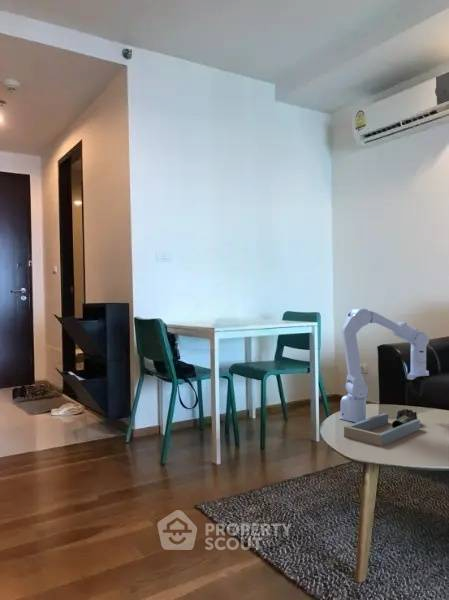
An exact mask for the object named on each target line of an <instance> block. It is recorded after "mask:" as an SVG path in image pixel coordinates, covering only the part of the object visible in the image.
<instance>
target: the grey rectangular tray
mask: <svg viewBox="0 0 449 600" xmlns="http://www.w3.org/2000/svg"><path fill="white" fill-rule="evenodd" d="M367 418H368V419H365V420H362V421H359V422H353V423H350V424H348V425H345V426H344V427H343V437H344V438H347V439H352V440H355V441H359V442H363V443H367V444H370V445H375V446H378V447H382V446H385V445H387V444H389V443H392V442H394V441H397V440H399V439H401V438H403V437H406V436H408V435H410V434H412V433H415V432H417V431H420V430H421V420H420V419H418V418H417V419H415V420H413V421H410V422H408V423H405V424H402V425H400V426H397V427H395V428H392V427H391V428H390V429H388V430H385V431H382V432H379V433H378V432H374V431H370V430H372V429H375V428H378V427H380V426H383V425H386V424H388V423H389V413H387V412H383V413H380V414H378V415H375V416H372V417H367ZM369 429H370V430H369Z"/></svg>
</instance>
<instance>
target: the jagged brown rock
mask: <svg viewBox="0 0 449 600" xmlns="http://www.w3.org/2000/svg"><path fill="white" fill-rule="evenodd" d="M396 413H397V414H396V420H394V421H392V423H391V429H392V428H395V427H397V426H400V425H402V424H405V423H408V422H410V421H413V420H415V419H417V420H418V416H417V415H418V413H417V412H416V411H413V410H412V409H408V408H405V409H399V410H398V411H397V412H396Z"/></svg>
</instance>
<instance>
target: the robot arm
mask: <svg viewBox="0 0 449 600" xmlns="http://www.w3.org/2000/svg"><path fill="white" fill-rule="evenodd" d="M369 324H377V325H379V326H382V327H384V328H386V329H389V330H391V331H392V333H393V335H394V336H396V337H397V338H400V339H402V340H403V341H406V342H408V343H409V344H410V372H409V373H408V374H407V378H406V379H407V380H409V382H410V383H411V385H412V388H413V389H412V390H413V393H414V396H416V397H421V396H422V395H423V391H424V389H425V385H426V383H427V381H428V376H430V372H429V370H427V345H429V342H430V339H429V336H428V335H427V333H426V332H423V331H418V328H416V327H412V326H410V325H408V322H405V321H403V322H402V321H401V322H394V321H392V320H391V319H389V318H388V317H385V316H383V315H381V314H379V313H378V312H375V311H373V310H368V309H367V308H358V307H357V308H356V307H355V308H352V309H351V310H350V311H349V312H348V313H347V314H346V319H345V321H344V324H343V326H342V328H341V332H342V333H341V334H342V339H343V347H344V354H345V362H346V368H347V374H346V383H345V390H346V392H347V395H344V396H342V397H341V399H340V402H339V403H340V404H339V405H340V411H339V413H340V416H339V419H340V420H344V421H349V422H353V423H356V422H359V421H362V420H365V419H368V418H369V417H367V395H368V394H369V388H368V385H367V384H366V383H365V382H366V381H365V378H364V376H363V373H362V367H361V362H360V354H359V353H360V352H359V346H358V337H357V333H359V331H361V328H363V327H365V326H367V325H369ZM426 376H427V377H426Z"/></svg>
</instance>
